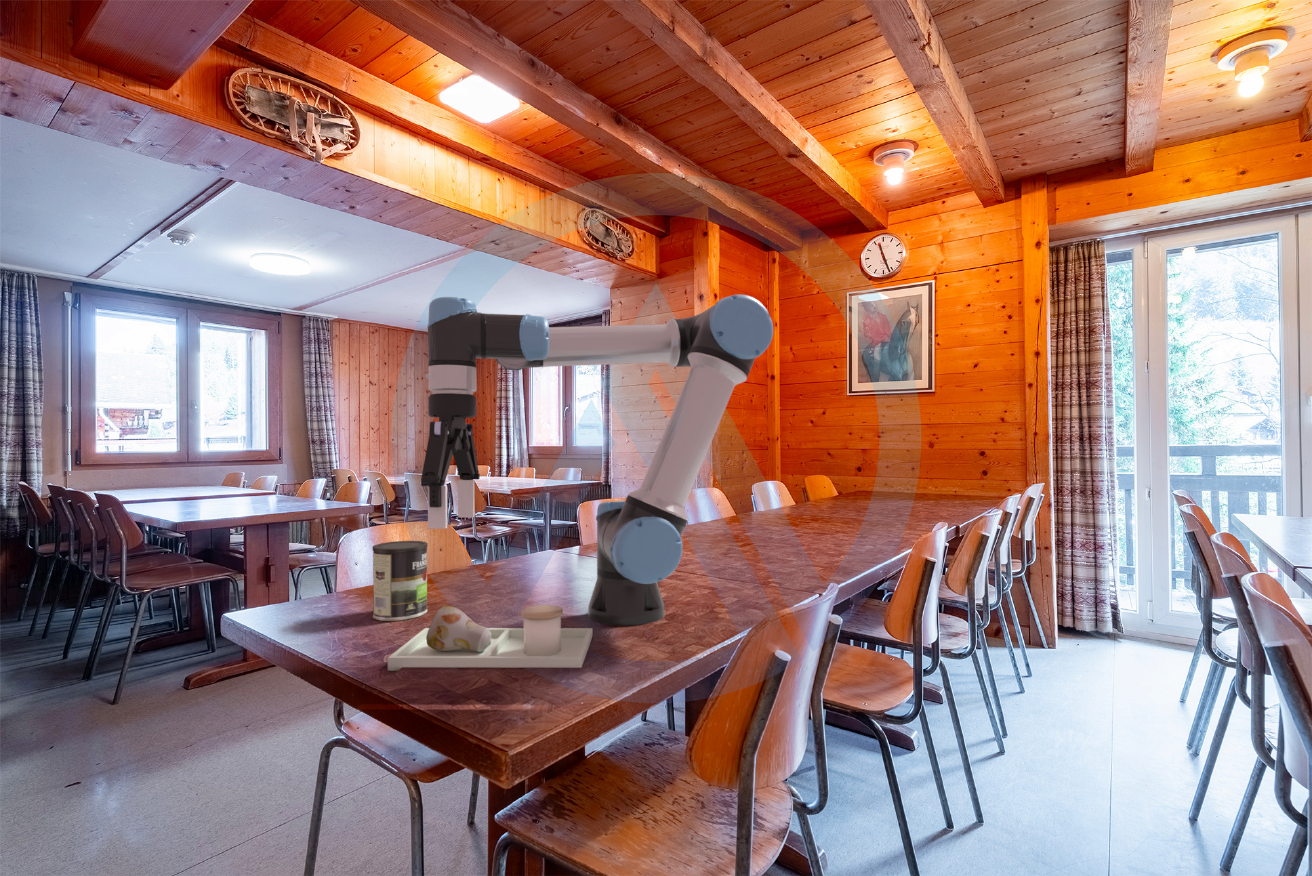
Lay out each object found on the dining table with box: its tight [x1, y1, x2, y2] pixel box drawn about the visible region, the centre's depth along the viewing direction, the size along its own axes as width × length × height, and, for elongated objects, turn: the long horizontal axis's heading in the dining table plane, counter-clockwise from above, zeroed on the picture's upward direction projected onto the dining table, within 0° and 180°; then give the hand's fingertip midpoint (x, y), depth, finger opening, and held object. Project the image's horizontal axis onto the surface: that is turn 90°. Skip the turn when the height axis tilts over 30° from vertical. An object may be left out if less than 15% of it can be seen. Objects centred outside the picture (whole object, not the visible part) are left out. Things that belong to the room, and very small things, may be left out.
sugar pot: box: [521, 604, 564, 656], centre depth 99 cm, size 7×7×7 cm
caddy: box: [387, 627, 593, 672], centre depth 99 cm, size 30×15×2 cm, turn 89°
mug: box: [426, 605, 491, 652], centre depth 99 cm, size 8×10×10 cm
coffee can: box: [372, 540, 429, 622], centre depth 122 cm, size 10×10×14 cm
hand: (452, 522), depth 99 cm, fingers open, 13 cm apart
